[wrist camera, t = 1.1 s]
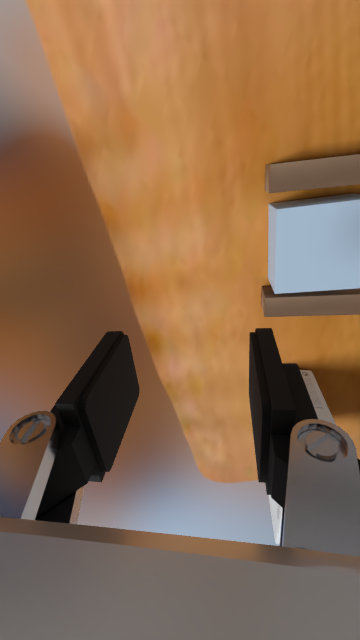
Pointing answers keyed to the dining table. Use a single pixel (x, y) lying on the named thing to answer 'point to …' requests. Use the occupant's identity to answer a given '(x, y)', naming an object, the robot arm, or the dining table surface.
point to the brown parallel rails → (304, 178)
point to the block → (314, 244)
